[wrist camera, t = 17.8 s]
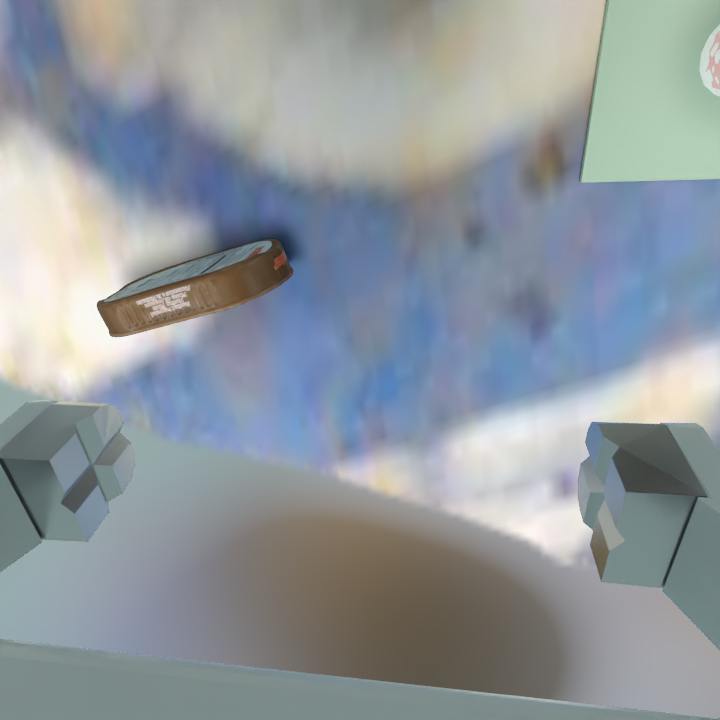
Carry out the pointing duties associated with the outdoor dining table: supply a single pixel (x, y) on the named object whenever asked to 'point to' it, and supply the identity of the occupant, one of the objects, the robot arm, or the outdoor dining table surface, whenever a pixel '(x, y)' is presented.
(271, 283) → the tin
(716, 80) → the beverage cup
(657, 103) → the sage pad
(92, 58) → the outdoor dining table surface
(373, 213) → the outdoor dining table surface
